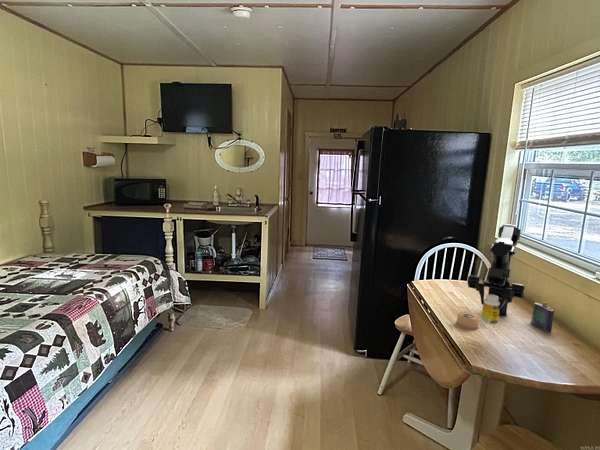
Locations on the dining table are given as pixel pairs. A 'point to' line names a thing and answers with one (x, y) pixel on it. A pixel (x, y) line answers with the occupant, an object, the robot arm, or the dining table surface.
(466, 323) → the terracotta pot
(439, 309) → the dining table surface
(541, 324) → the flask
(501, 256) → the robot arm
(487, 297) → the supplement bottle
